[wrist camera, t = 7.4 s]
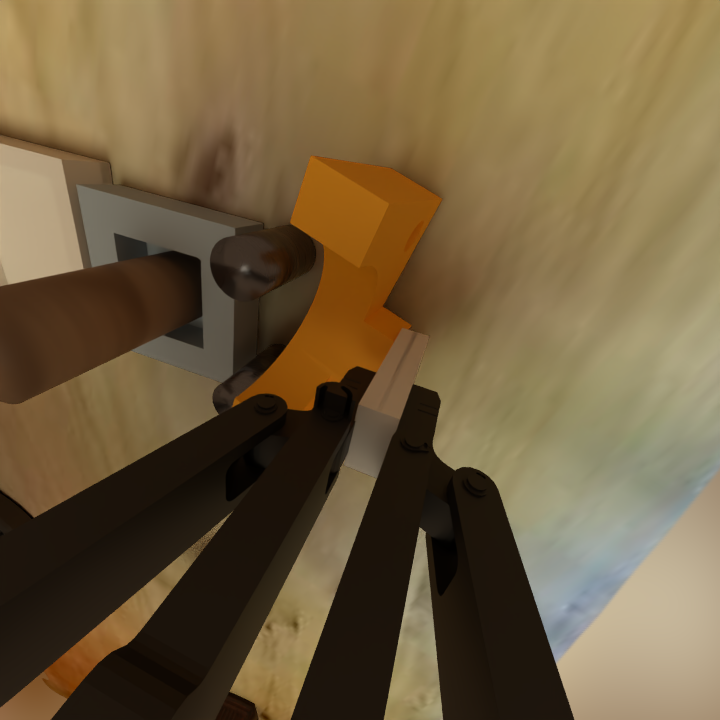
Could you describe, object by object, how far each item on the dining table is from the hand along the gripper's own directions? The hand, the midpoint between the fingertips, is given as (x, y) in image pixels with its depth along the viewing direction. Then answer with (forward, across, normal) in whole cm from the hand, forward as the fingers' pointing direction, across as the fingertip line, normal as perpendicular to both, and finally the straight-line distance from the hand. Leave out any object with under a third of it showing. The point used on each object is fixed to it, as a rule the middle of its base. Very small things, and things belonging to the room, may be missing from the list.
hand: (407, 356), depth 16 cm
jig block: (+2, +14, +1) cm, 14 cm away
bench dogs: (+2, +8, +1) cm, 8 cm away
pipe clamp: (+2, +2, -1) cm, 3 cm away
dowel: (+1, +14, +1) cm, 14 cm away
